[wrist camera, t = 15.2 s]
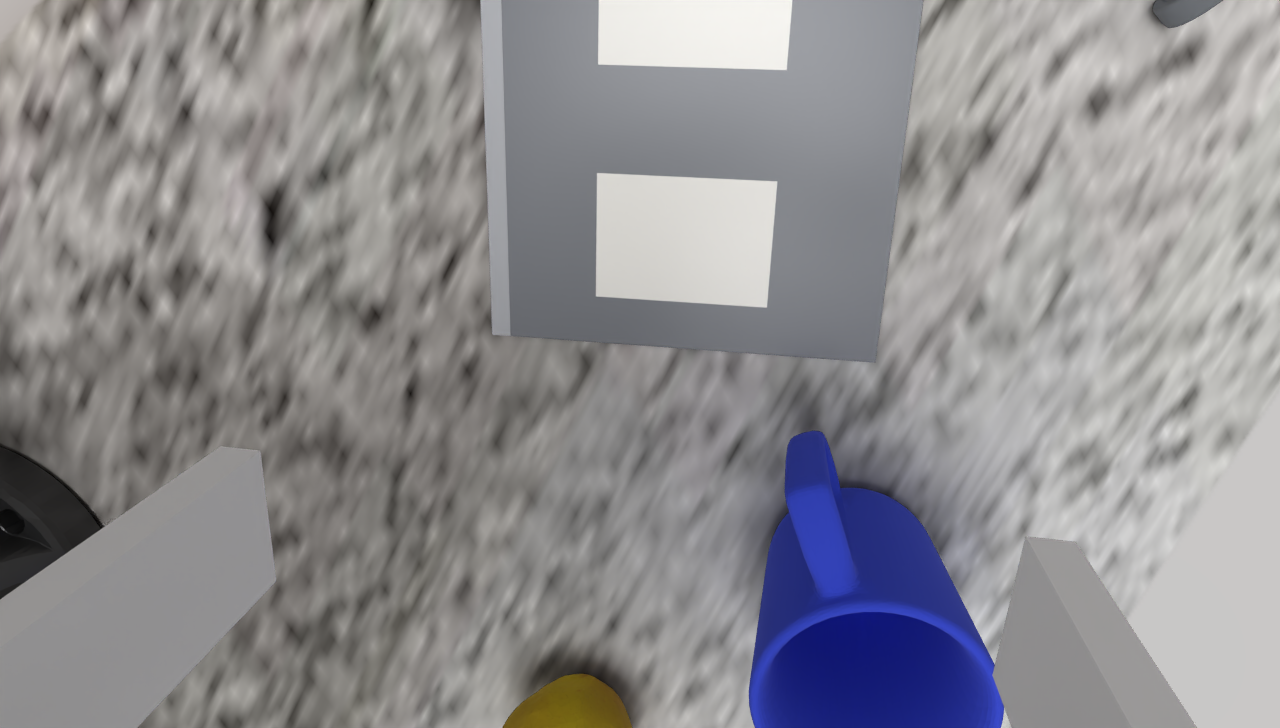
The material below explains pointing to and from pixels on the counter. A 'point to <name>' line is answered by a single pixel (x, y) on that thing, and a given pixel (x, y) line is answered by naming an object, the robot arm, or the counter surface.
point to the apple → (571, 706)
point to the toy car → (1181, 10)
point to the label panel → (696, 170)
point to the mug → (861, 615)
